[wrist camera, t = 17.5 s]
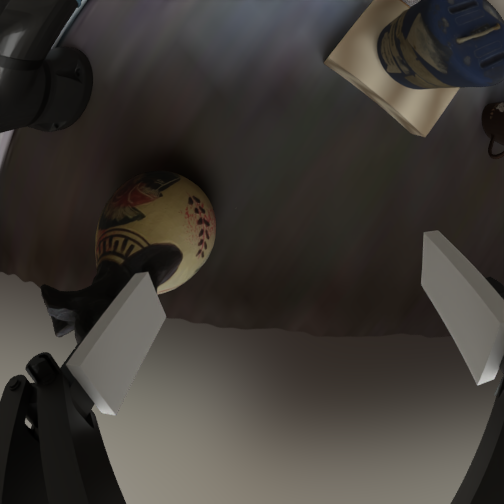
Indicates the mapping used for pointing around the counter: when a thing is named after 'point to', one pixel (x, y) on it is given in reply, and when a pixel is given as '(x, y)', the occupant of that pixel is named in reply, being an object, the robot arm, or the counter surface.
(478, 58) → the canister
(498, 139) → the coffee mug
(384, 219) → the counter surface
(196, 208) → the ceramic jug
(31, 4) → the robot arm
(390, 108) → the dock
